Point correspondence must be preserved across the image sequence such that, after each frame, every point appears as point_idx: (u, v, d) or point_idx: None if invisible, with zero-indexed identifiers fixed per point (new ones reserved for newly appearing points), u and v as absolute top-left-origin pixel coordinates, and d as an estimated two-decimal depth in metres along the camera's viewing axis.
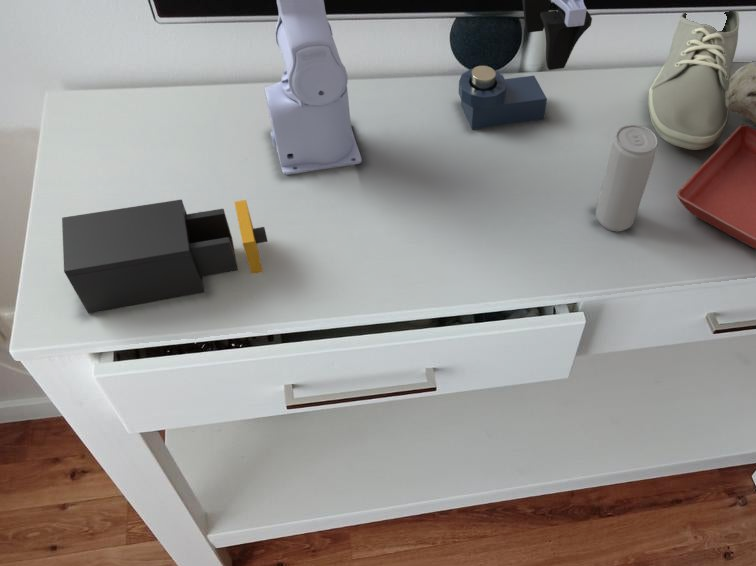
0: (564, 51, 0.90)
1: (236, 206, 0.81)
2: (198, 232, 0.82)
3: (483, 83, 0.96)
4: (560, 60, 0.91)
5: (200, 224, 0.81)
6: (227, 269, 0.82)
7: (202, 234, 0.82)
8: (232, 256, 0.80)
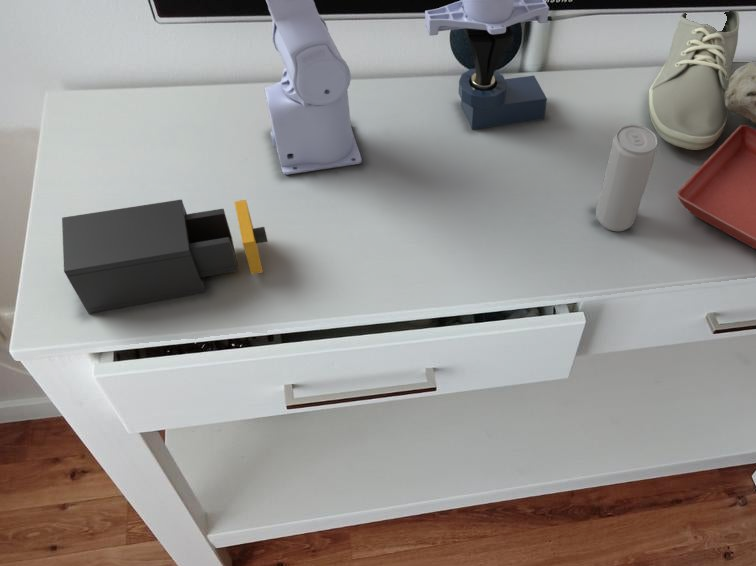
0: None
1: (236, 206, 0.81)
2: (198, 232, 0.82)
3: (483, 89, 0.97)
4: (478, 72, 0.96)
5: (200, 224, 0.81)
6: (227, 269, 0.82)
7: (202, 234, 0.82)
8: (232, 256, 0.80)
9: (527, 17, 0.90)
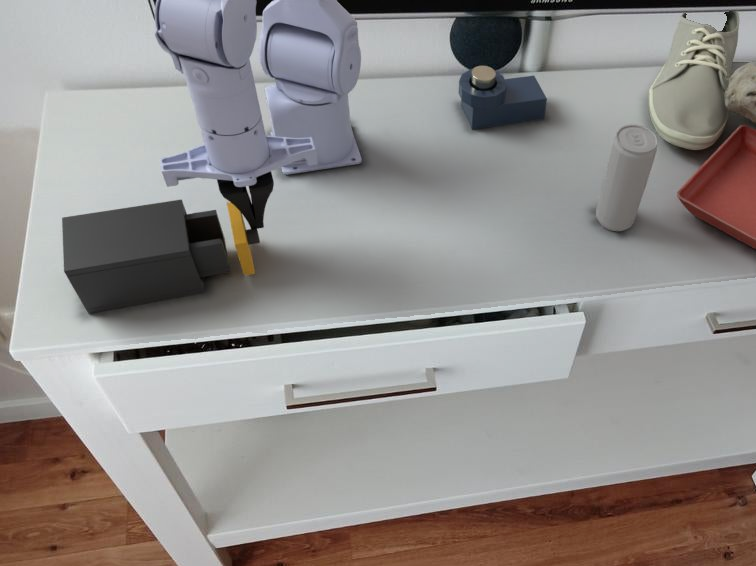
0: None
1: (228, 207, 0.81)
2: (190, 234, 0.82)
3: (483, 83, 0.96)
4: None
5: (192, 225, 0.81)
6: (219, 270, 0.81)
7: (195, 236, 0.82)
8: (224, 257, 0.80)
9: (287, 162, 0.76)
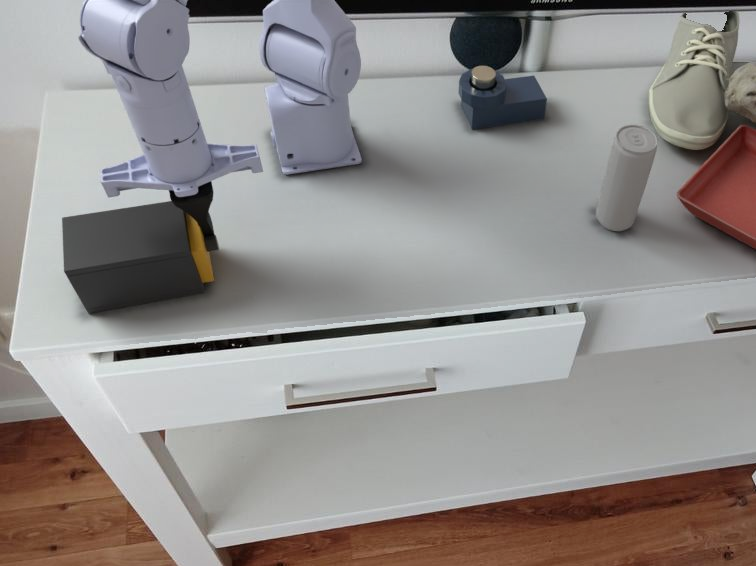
0: None
1: (186, 214, 0.80)
2: None
3: (483, 83, 0.96)
4: None
5: None
6: None
7: None
8: None
9: (231, 170, 0.75)
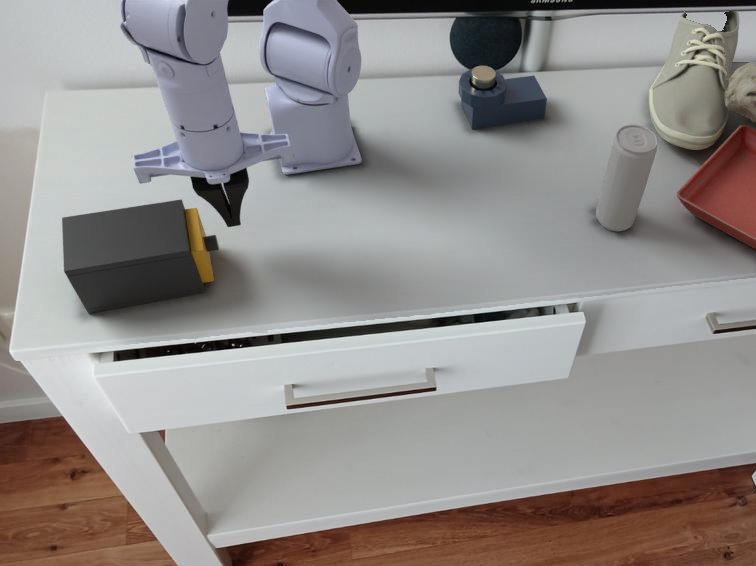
0: None
1: (186, 214, 0.80)
2: None
3: (483, 83, 0.96)
4: None
5: None
6: None
7: None
8: None
9: (262, 159, 0.75)
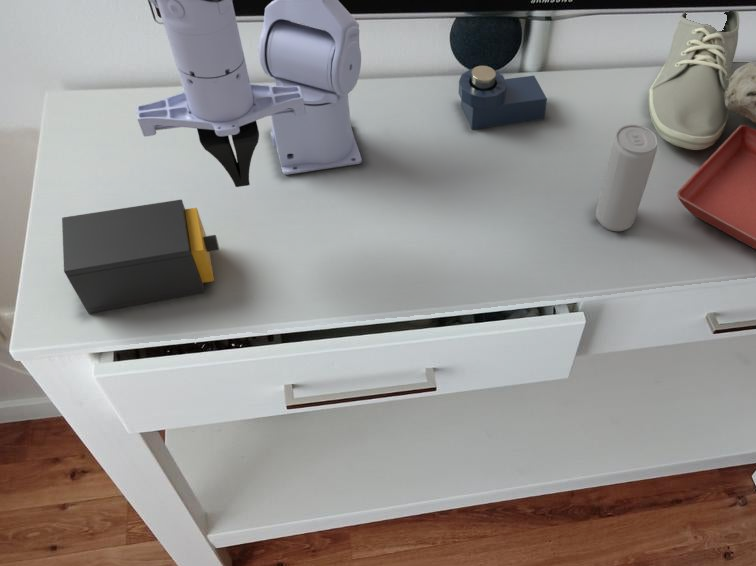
0: None
1: (186, 214, 0.80)
2: None
3: (483, 83, 0.96)
4: None
5: None
6: None
7: None
8: None
9: (273, 111, 0.71)
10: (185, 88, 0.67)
